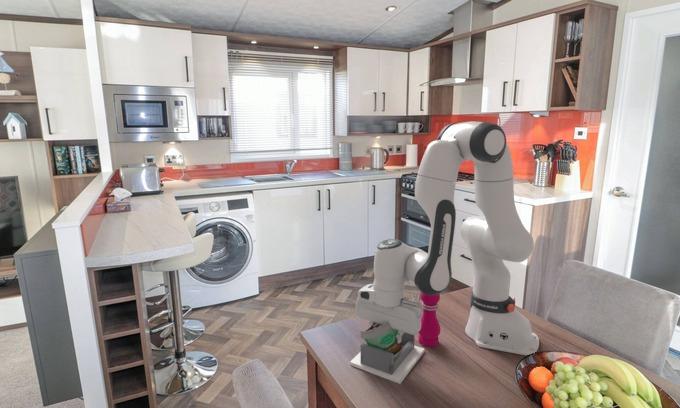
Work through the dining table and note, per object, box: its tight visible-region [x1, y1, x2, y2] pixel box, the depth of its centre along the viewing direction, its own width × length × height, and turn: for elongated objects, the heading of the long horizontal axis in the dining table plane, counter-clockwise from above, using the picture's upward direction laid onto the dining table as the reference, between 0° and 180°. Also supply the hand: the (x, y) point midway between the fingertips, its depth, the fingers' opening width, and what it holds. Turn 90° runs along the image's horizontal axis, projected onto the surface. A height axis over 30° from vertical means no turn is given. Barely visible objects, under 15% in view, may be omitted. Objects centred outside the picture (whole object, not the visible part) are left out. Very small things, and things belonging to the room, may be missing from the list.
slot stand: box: [349, 330, 425, 385], centre depth 117 cm, size 16×18×7 cm
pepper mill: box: [417, 291, 441, 348], centre depth 125 cm, size 7×7×20 cm
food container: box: [359, 321, 402, 356], centre depth 115 cm, size 12×6×10 cm, turn 126°
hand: (386, 338), depth 117 cm, fingers closed on food container, 6 cm apart
